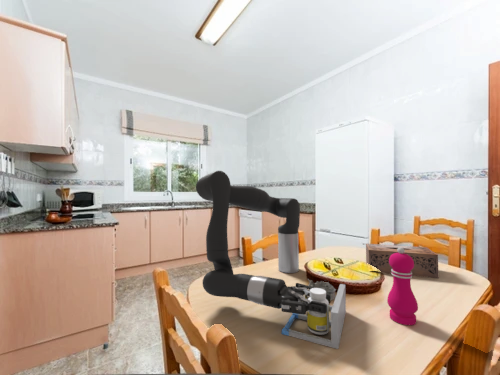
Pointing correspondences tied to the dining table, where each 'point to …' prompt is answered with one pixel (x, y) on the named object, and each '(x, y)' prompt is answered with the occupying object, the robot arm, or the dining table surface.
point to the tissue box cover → (421, 255)
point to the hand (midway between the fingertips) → (328, 303)
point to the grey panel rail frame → (335, 322)
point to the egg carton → (324, 287)
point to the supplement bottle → (317, 320)
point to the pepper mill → (402, 289)
